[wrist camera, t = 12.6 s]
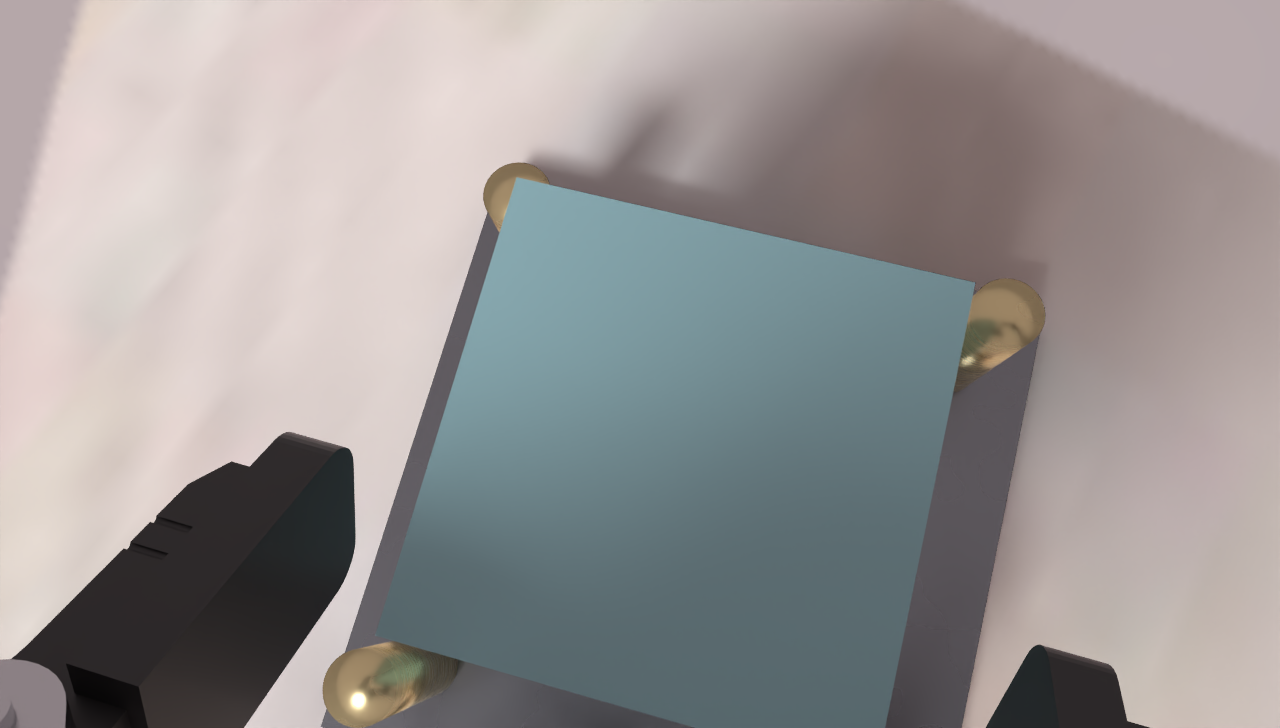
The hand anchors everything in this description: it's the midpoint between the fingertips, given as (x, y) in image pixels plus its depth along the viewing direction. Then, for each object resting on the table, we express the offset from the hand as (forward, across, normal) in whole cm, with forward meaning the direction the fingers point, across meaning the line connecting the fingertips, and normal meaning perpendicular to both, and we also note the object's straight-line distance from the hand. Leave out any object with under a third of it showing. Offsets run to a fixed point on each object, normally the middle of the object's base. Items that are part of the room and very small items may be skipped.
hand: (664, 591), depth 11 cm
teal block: (+7, 0, +5) cm, 8 cm away
